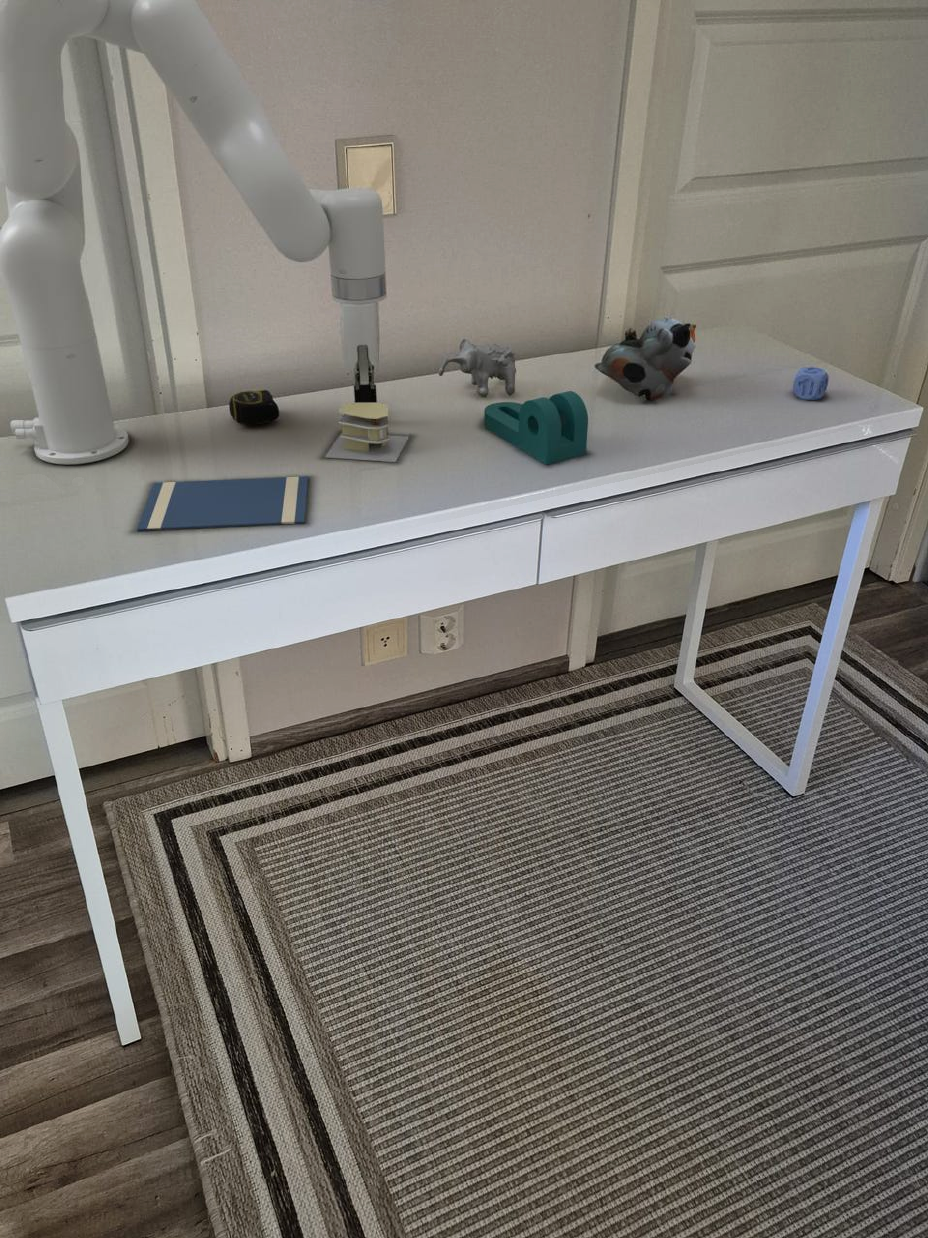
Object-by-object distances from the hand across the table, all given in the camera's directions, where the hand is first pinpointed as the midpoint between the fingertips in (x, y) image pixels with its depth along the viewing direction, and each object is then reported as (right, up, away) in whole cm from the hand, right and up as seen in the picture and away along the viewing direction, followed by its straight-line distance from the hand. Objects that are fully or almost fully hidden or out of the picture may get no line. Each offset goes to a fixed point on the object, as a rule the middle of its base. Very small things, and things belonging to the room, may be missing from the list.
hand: (366, 412), depth 151 cm
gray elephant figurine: (+17, +5, +12) cm, 21 cm away
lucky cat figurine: (+43, +6, +13) cm, 45 cm away
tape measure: (-16, -1, +2) cm, 16 cm away
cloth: (-16, -16, -21) cm, 31 cm away
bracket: (+24, -5, -4) cm, 24 cm away
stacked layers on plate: (+1, -6, -6) cm, 9 cm away
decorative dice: (+68, +4, +10) cm, 69 cm away
